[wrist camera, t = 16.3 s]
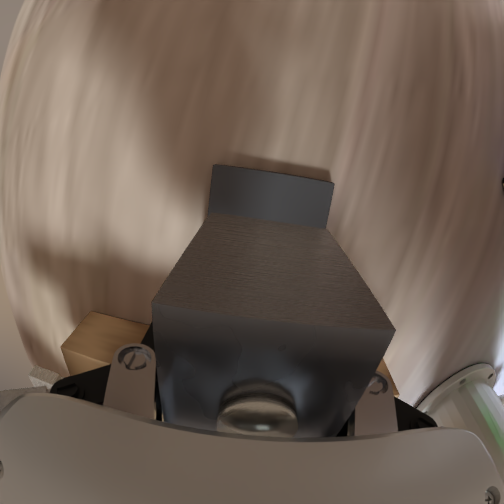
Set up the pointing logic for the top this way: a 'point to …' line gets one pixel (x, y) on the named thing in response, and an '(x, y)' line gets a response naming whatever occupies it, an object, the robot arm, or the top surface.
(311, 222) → the rubber mat
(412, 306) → the top surface
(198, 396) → the lever cap
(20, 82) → the top surface
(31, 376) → the lever
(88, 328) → the plane body
